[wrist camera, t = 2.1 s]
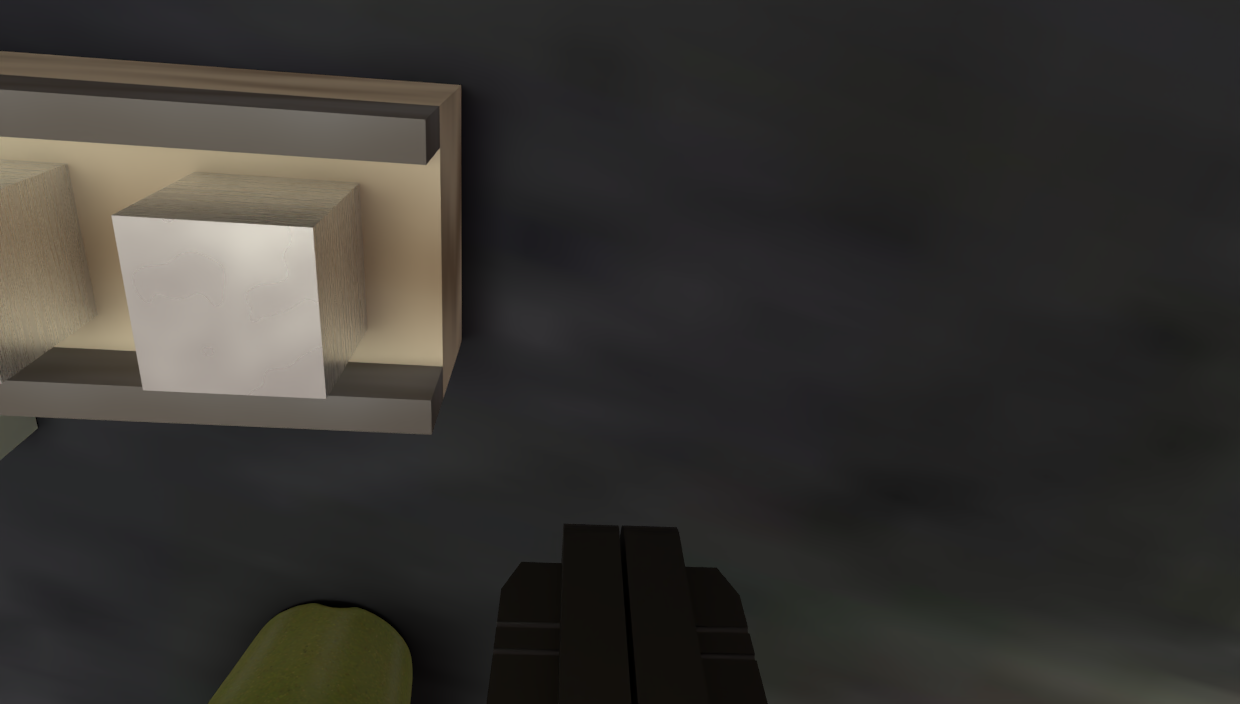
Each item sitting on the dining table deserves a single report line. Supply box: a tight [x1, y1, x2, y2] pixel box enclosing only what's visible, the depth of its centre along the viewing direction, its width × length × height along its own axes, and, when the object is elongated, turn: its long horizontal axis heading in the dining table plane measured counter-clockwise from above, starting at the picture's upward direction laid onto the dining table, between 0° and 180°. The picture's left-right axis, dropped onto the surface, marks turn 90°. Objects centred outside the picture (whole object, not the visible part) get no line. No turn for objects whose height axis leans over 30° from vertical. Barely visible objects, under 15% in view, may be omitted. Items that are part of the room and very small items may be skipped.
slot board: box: [0, 51, 462, 435], centre depth 22 cm, size 8×14×6 cm, turn 86°
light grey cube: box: [111, 172, 367, 399], centre depth 20 cm, size 4×4×4 cm
